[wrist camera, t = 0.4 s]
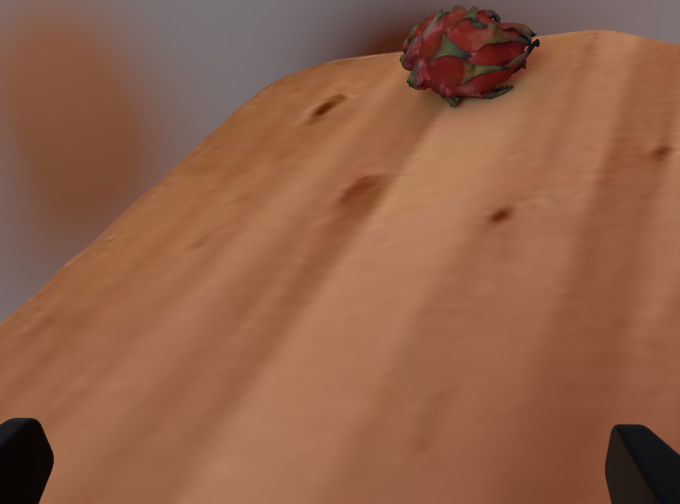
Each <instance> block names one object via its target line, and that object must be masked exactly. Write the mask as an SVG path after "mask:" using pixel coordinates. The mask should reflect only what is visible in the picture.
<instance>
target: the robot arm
mask: <svg viewBox="0 0 680 504" xmlns="http://www.w3.org/2000/svg"><path fill="white" fill-rule="evenodd" d="M53 464H54V455H53V451H52V449H51V447H50V444H49V442H48V440H47V437H46V435H45V433H44V430H43V428H42V426H41V424H40V422H39V421H38V420H36V419H34V418H13V419H9V420H7V421H5V422H4V423H2V424H1V425H0V504H39V502H40V499H41V497H42V494H43V492H44V489H45V487H46V484H47V481H48V479H49V476H50V474H51V471H52V468H53ZM605 476H606V482H607V486H608V490H609V494H610V499H611V503H612V504H680V455H679V454H678V453H677V452H676V451H674V450H673V449H672V448H671V447H670V446H669V445H667V444H666V443H665V442H664V441H663V440H662V439H660V438H659V437H658V436H657V435H656V434H655V433H653V432H652V431H651V430H650V429H649V428H647V427H645V426H643V425H639V424H618V425H615V426H614V427H613V428H612V430H611V435H610V440H609V446H608V451H607V457H606V462H605Z"/></svg>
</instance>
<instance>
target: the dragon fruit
mask: <svg viewBox="0 0 680 504" xmlns="http://www.w3.org/2000/svg"><path fill="white" fill-rule="evenodd" d="M492 18H494V20H491V19H492ZM500 19H501V18H500V17H499V15H498V14H497V13H495V11H493V10H490V9H488V10H480V11H478V8H477V7H474V6H473V7H472V8H471V9H470V10H469V11H468V12H466V10H465V7H463V6H458V5H455V6H454V7H453V9H452V10H451V11H450V12H444V14H443V10H441V11H439V12H438V13H436V12H430V13H427V14H425V15H424V20H423V23H418V24H416V25H413V26H412V27H411V30H410V34H409V37H407V39H406V41H404V43H403V52H404V55H402V56H401V58H400V62H401V64H402V66H403V68H404V69H406V70H408V71H411V73H410V75H409V77H408V79H407V83H409V87H412V88H414V89H416V90H426V89H427V88H431V89H432V90H434V91H435V92H436V93H438V94H440V95H441V96H442V98H445V99H446V100H447V101H448V103H449V104H450V107H453V106H455V105H456V104H457V103H458V101H459V98H457V96H465V97H481V98H485V97H486V98H488V99H491V98H494V97H497V96H500V95H502V94H504V93H505V92H506V91H508V90H510V89H511V88H513V86H510V85H507V86H506V87H499V88H497V89H495V90H493V89H494V88H495V86H496V85H497V84H499V83H501V82H503V81H505V80H507V79H509V78H510V77H511V75H512V74H514V73H516V72H517V71H519V70H520V69H521V68H526V58H527V57H528V55H529V54H530V53H531V51H532V50H533V48H534V47H535V46H536V47H539V44H540V42H539V40H538V39H536V41H534V42H533V43H532V44H531V40H532V39H531V38H532V37H534V36H535V35H536V34H535V33H533V32H532V31H531V30H530V29H529V28H528V27H527V26H526V25H523V24H521V25H520V24H518V23H503V24H502V23H500ZM528 45H529V47H528V48H527V50H526V51H525V52H524V49H525V47H526V46H528Z"/></svg>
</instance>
